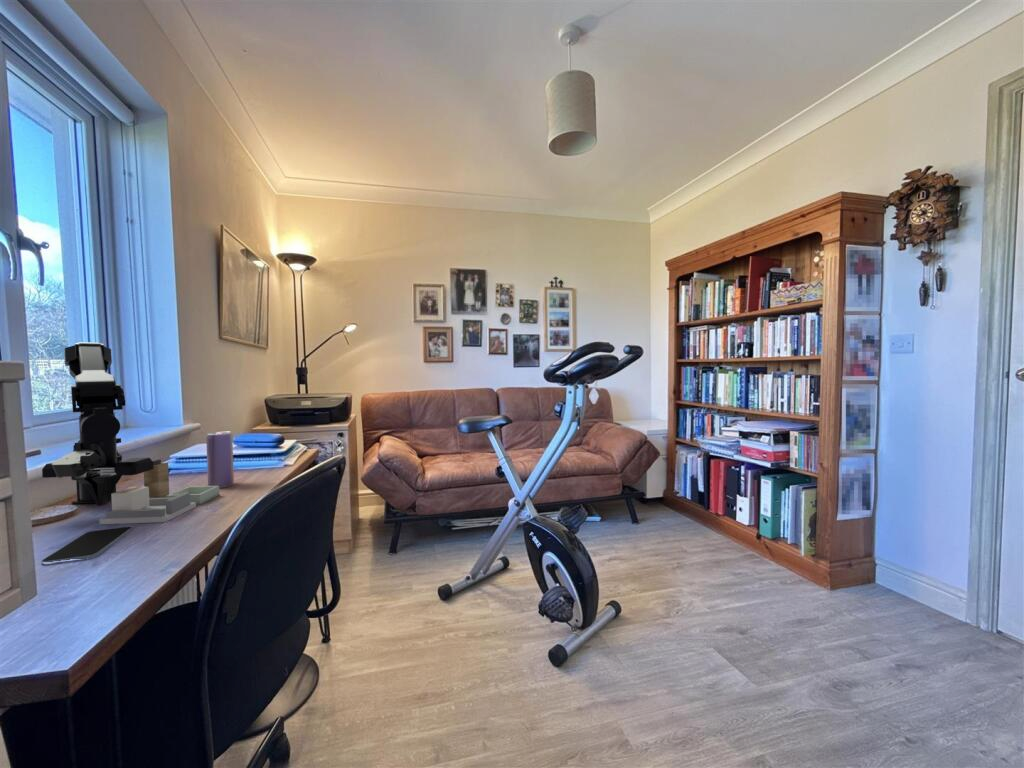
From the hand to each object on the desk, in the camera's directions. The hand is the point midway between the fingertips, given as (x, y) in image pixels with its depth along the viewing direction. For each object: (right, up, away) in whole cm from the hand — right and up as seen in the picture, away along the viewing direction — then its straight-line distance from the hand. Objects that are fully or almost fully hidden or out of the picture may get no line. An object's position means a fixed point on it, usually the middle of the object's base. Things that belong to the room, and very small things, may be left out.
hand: (101, 505), depth 93 cm
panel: (+10, -3, +1) cm, 10 cm away
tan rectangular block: (+2, -2, +12) cm, 13 cm away
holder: (+12, -2, +11) cm, 17 cm away
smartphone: (+13, -4, -15) cm, 20 cm away
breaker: (+6, -1, +1) cm, 6 cm away
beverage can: (+10, -2, +24) cm, 26 cm away
